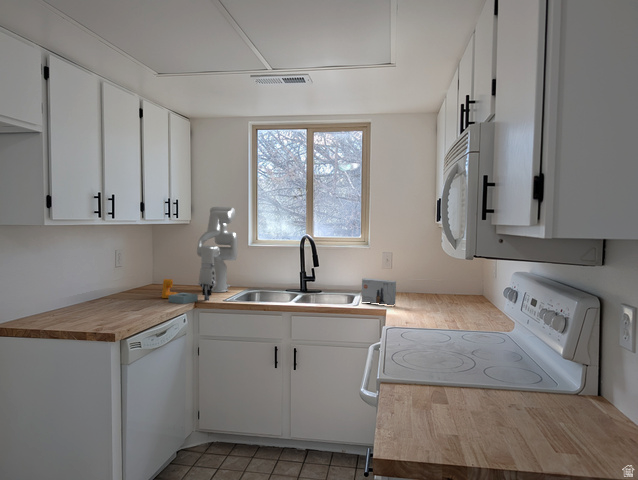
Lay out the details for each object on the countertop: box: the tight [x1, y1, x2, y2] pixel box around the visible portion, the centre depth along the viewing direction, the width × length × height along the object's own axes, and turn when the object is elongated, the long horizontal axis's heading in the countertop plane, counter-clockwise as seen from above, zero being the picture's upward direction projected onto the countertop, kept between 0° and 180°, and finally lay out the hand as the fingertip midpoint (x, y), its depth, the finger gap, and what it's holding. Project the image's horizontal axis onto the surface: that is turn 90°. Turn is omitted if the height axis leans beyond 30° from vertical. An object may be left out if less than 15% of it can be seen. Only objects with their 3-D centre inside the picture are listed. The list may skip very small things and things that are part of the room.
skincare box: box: [361, 277, 397, 305], centre depth 267 cm, size 21×5×16 cm, turn 62°
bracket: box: [161, 278, 178, 299], centre depth 272 cm, size 11×7×12 cm, turn 5°
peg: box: [203, 284, 210, 301], centre depth 267 cm, size 3×3×10 cm
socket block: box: [168, 292, 199, 305], centre depth 261 cm, size 12×12×4 cm
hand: (206, 295), depth 267 cm, fingers closed on peg, 3 cm apart
